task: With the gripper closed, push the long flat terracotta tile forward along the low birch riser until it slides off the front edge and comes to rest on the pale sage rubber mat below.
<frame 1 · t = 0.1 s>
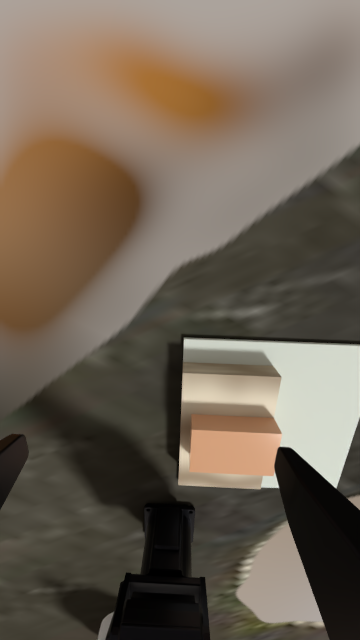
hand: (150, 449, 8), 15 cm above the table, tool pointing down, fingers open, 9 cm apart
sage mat: (266, 420, 25), on the table
birch riser: (221, 418, 25), resting on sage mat
terracotta tile: (230, 436, 23), point 2 cm above the table, touching birch riser
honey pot: (138, 627, 39), on the table
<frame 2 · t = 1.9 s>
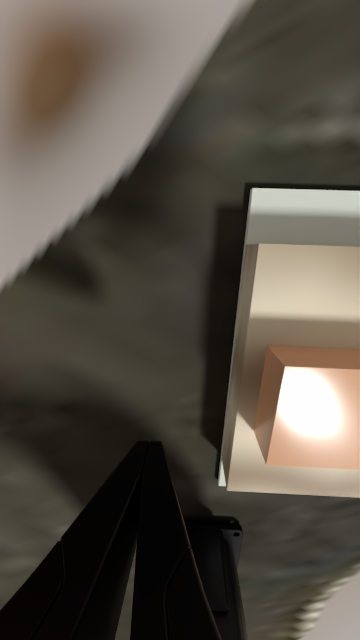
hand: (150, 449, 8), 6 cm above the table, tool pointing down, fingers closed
birch riser: (305, 368, 14), resting on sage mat
terracotta tile: (340, 394, 11), point 2 cm above the table, touching birch riser
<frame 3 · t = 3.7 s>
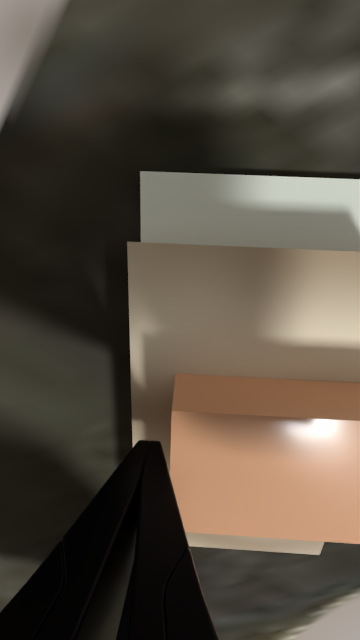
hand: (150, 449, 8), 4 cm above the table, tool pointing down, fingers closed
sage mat: (333, 400, 11), on the table
birch riser: (232, 394, 11), resting on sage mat
terracotta tile: (274, 434, 9), point 3 cm above the table, touching gripper
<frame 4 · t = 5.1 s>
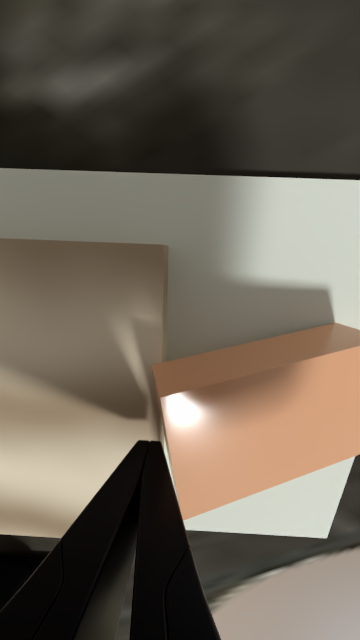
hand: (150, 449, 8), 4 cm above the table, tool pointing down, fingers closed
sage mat: (175, 391, 11), on the table
birch riser: (77, 386, 11), resting on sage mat
terracotta tile: (253, 395, 10), point 2 cm above the table, tilted 16°, touching gripper, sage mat
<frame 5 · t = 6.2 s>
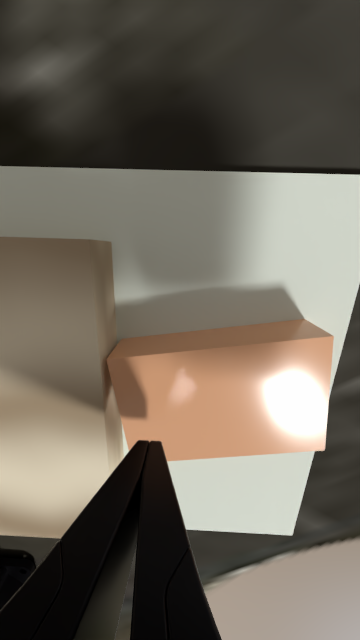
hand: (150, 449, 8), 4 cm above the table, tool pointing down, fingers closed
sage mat: (132, 389, 11), on the table
birch riser: (34, 384, 11), resting on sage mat
terracotta tile: (215, 378, 11), resting on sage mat
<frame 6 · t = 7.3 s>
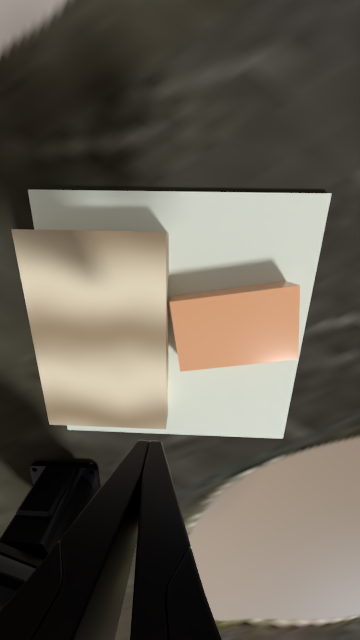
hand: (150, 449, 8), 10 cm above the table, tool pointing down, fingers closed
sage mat: (175, 331, 17), on the table
birch riser: (111, 329, 17), resting on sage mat
terracotta tile: (230, 321, 17), resting on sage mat
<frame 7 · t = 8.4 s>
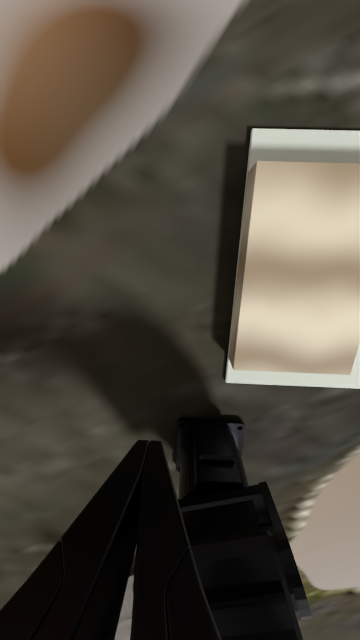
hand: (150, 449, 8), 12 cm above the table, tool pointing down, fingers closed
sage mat: (357, 279, 18), on the table
birch riser: (293, 277, 18), resting on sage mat
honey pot: (159, 598, 32), on the table
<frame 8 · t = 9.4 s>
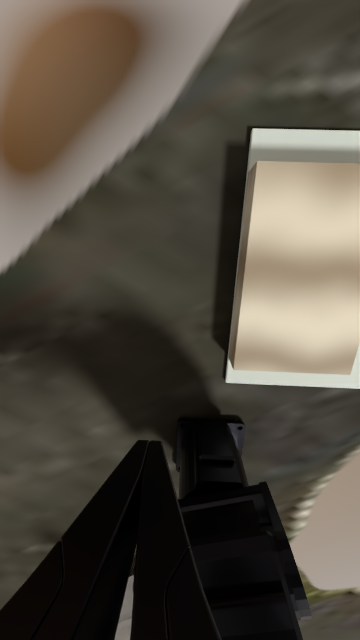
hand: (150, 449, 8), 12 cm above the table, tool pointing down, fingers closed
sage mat: (357, 279, 18), on the table
birch riser: (293, 277, 18), resting on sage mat
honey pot: (159, 598, 32), on the table
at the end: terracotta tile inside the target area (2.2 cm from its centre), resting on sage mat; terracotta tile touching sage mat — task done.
